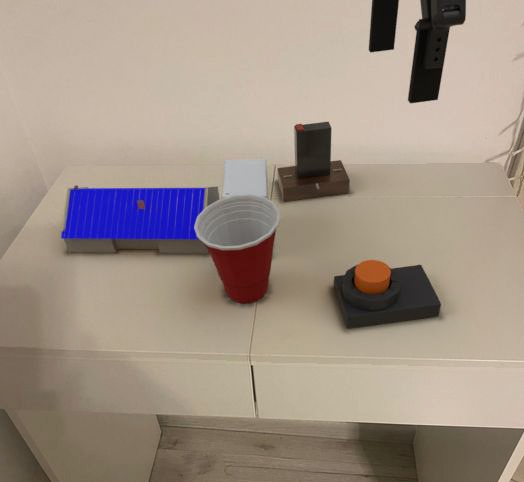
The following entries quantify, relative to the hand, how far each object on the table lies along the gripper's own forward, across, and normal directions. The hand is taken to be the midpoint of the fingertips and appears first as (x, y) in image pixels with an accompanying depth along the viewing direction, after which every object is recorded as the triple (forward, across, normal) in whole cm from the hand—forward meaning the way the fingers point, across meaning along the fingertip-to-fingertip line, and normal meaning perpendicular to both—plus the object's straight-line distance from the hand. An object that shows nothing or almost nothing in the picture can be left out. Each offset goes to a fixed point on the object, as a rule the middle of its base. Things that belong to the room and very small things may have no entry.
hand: (400, 73), depth 58 cm
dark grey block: (+24, -24, -4) cm, 35 cm away
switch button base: (+27, +6, -1) cm, 27 cm away
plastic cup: (+27, 0, -19) cm, 33 cm away
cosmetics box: (+27, -12, -16) cm, 34 cm away
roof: (+27, -19, -32) cm, 46 cm away
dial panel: (+27, -24, -4) cm, 36 cm away
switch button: (+23, +6, -3) cm, 24 cm away
